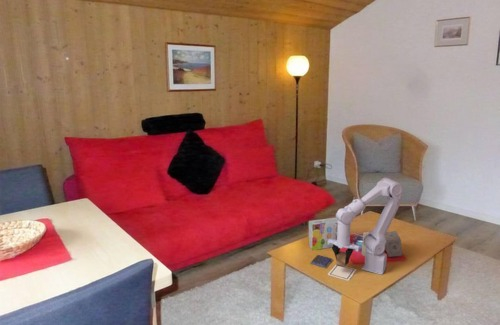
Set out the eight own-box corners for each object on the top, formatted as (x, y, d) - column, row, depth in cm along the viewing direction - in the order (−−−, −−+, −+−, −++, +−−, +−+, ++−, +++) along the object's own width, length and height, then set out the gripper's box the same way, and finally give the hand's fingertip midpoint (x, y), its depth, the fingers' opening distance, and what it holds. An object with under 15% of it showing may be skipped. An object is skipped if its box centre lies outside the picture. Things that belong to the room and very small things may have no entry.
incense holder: (381, 248, 195) (382, 230, 193) (397, 249, 194) (398, 230, 192) (384, 257, 186) (386, 238, 183) (402, 258, 185) (403, 239, 182)
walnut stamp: (348, 262, 173) (348, 253, 172) (344, 267, 169) (345, 257, 168) (340, 260, 175) (340, 251, 174) (336, 265, 171) (336, 255, 170)
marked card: (356, 270, 175) (356, 269, 175) (348, 281, 166) (348, 280, 166) (336, 264, 180) (336, 263, 180) (327, 274, 171) (327, 274, 171)
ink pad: (332, 260, 184) (332, 258, 184) (325, 268, 177) (325, 266, 177) (317, 256, 188) (317, 254, 188) (310, 263, 181) (310, 261, 181)
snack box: (343, 241, 205) (344, 215, 201) (348, 245, 199) (349, 219, 196) (308, 246, 200) (308, 220, 196) (312, 250, 194) (312, 224, 191)
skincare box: (366, 258, 185) (367, 235, 183) (361, 254, 190) (362, 232, 187) (377, 256, 187) (378, 234, 184) (372, 252, 191) (373, 230, 188)
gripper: (325, 234, 169) (324, 261, 172) (356, 241, 161) (355, 269, 164) (331, 228, 175) (330, 254, 178) (361, 235, 167) (360, 262, 170)
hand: (342, 261), depth 172 cm, fingers closed on walnut stamp, 4 cm apart
